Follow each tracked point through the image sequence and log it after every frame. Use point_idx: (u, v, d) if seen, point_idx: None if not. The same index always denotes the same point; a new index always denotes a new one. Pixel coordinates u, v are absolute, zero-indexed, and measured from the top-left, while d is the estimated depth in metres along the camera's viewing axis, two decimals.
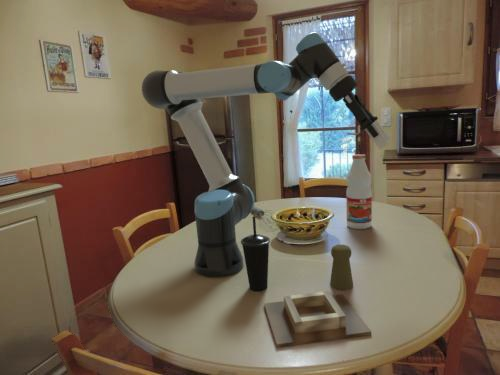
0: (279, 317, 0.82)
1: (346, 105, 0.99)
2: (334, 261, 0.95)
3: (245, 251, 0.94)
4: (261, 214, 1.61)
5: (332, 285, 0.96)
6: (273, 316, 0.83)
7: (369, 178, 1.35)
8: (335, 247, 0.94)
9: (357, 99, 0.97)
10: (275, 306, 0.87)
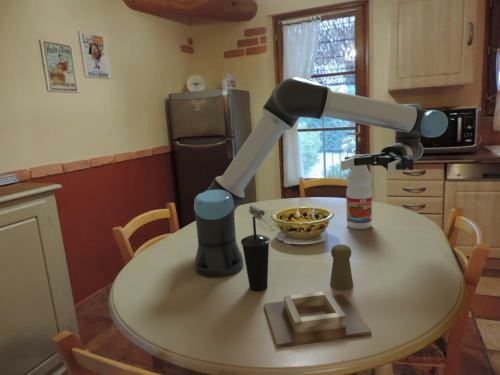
0: (279, 317, 0.82)
1: (394, 153, 1.07)
2: (334, 261, 0.95)
3: (245, 251, 0.94)
4: (261, 214, 1.61)
5: (332, 285, 0.96)
6: (273, 316, 0.83)
7: (369, 178, 1.35)
8: (335, 247, 0.94)
9: None
10: (275, 306, 0.87)
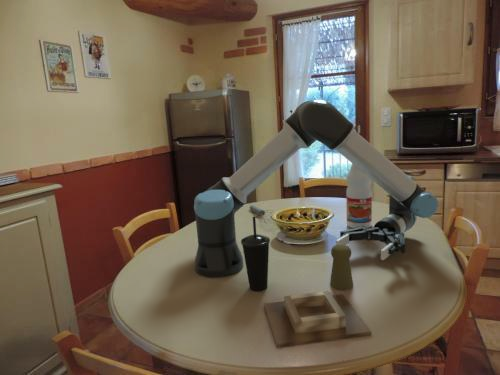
0: (279, 317, 0.82)
1: (387, 230, 1.11)
2: (334, 261, 0.95)
3: (245, 251, 0.94)
4: (262, 214, 1.61)
5: (332, 285, 0.96)
6: (273, 316, 0.83)
7: (369, 178, 1.35)
8: (335, 247, 0.94)
9: None
10: (275, 306, 0.87)
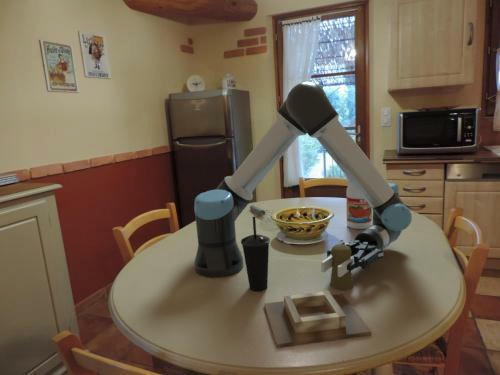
0: (279, 317, 0.82)
1: (367, 244, 1.02)
2: (334, 261, 0.95)
3: (245, 251, 0.94)
4: (262, 214, 1.61)
5: (332, 285, 0.96)
6: (273, 316, 0.83)
7: None
8: (335, 247, 0.94)
9: None
10: (275, 306, 0.87)
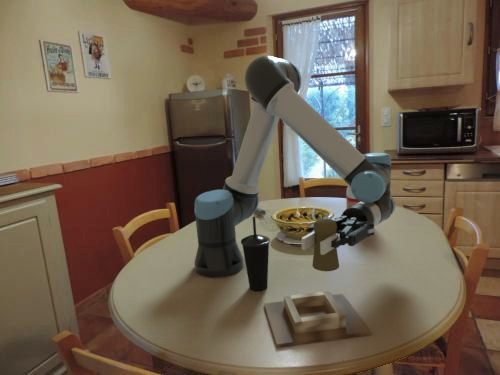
0: (279, 317, 0.82)
1: (355, 219, 0.88)
2: (317, 237, 0.81)
3: (245, 251, 0.94)
4: (262, 214, 1.61)
5: (315, 266, 0.82)
6: (273, 316, 0.83)
7: None
8: (318, 221, 0.80)
9: None
10: (275, 306, 0.87)
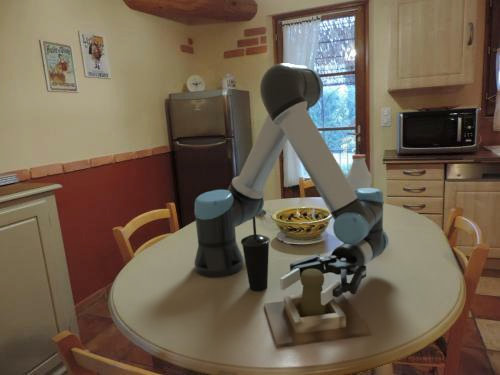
0: (279, 317, 0.82)
1: (346, 260, 0.86)
2: (304, 289, 0.80)
3: (245, 251, 0.94)
4: (263, 214, 1.61)
5: None
6: (273, 316, 0.83)
7: (369, 178, 1.35)
8: (305, 273, 0.79)
9: None
10: (275, 306, 0.87)
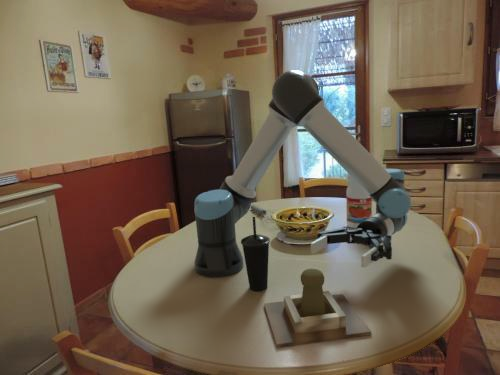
0: (279, 317, 0.82)
1: (372, 232, 0.95)
2: (304, 289, 0.80)
3: (245, 251, 0.94)
4: (263, 214, 1.61)
5: None
6: (273, 316, 0.83)
7: None
8: (305, 272, 0.79)
9: None
10: (275, 306, 0.87)
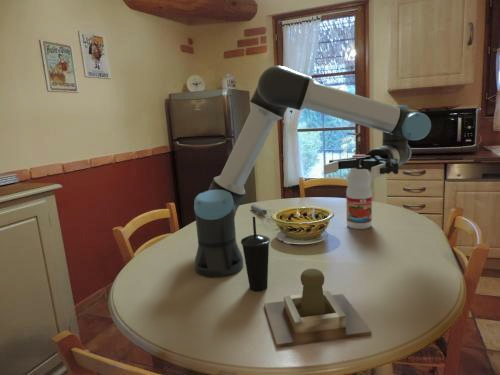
0: (279, 317, 0.82)
1: (379, 156, 1.03)
2: (304, 289, 0.80)
3: (245, 251, 0.94)
4: (263, 213, 1.62)
5: None
6: (273, 316, 0.83)
7: (369, 178, 1.35)
8: (305, 272, 0.79)
9: None
10: (275, 306, 0.87)
